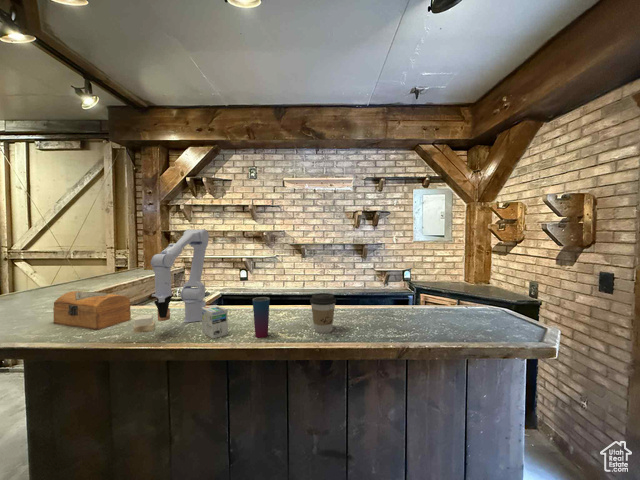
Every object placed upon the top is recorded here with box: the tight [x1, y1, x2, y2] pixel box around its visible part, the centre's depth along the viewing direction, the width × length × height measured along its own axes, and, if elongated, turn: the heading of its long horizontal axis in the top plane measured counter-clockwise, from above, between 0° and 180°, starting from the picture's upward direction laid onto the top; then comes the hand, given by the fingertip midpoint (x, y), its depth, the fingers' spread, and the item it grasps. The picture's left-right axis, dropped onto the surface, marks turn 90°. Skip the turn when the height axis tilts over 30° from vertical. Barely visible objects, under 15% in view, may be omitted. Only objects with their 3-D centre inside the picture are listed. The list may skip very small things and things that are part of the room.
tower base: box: [133, 319, 156, 334], centre depth 117 cm, size 7×7×3 cm
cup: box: [252, 296, 271, 339], centre depth 109 cm, size 7×7×15 cm
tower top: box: [134, 313, 154, 327], centre depth 117 cm, size 6×6×3 cm
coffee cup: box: [309, 292, 337, 334], centre depth 114 cm, size 11×11×15 cm
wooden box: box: [52, 290, 132, 331], centre depth 128 cm, size 30×16×14 cm, turn 71°
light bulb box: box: [201, 304, 229, 340], centre depth 112 cm, size 11×7×11 cm, turn 45°
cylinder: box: [157, 307, 171, 322], centre depth 111 cm, size 4×4×4 cm
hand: (163, 315), depth 111 cm, fingers closed on cylinder, 4 cm apart
